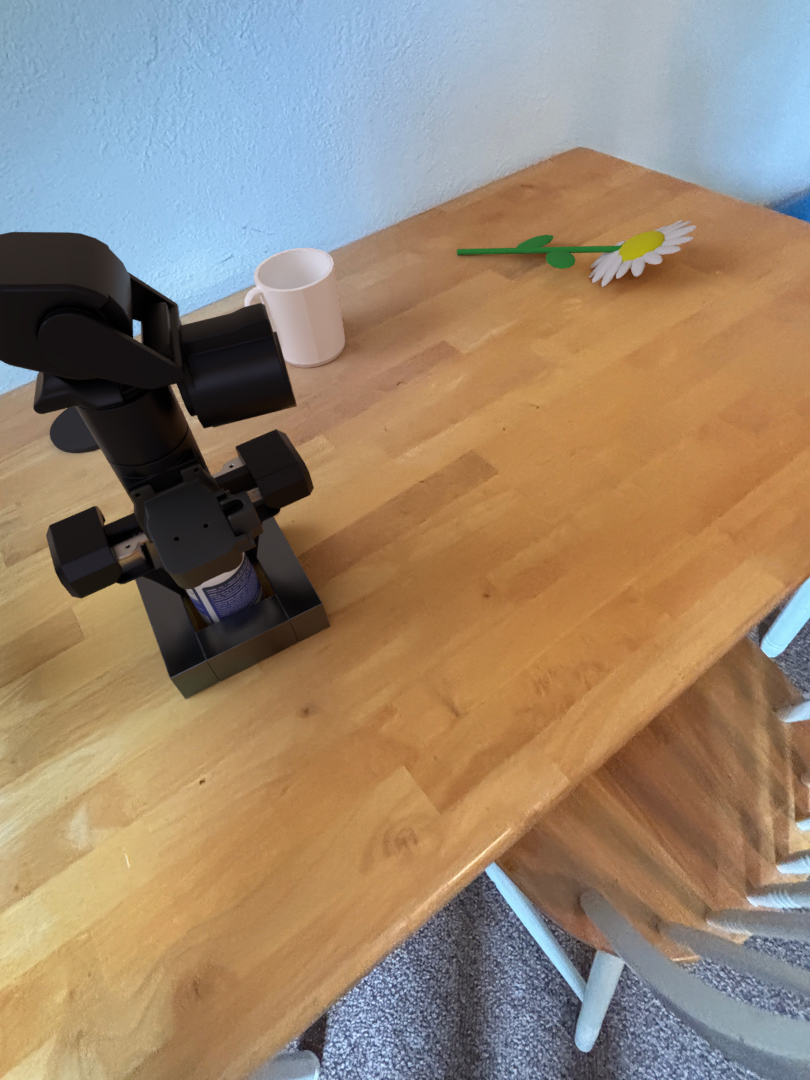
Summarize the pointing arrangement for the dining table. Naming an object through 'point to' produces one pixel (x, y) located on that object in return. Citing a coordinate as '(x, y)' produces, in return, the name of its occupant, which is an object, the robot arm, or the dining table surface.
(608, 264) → the decorative flower
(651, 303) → the dining table surface
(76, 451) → the coaster
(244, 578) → the pill bottle
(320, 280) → the mug
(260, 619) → the stand
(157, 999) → the dining table surface
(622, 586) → the dining table surface
